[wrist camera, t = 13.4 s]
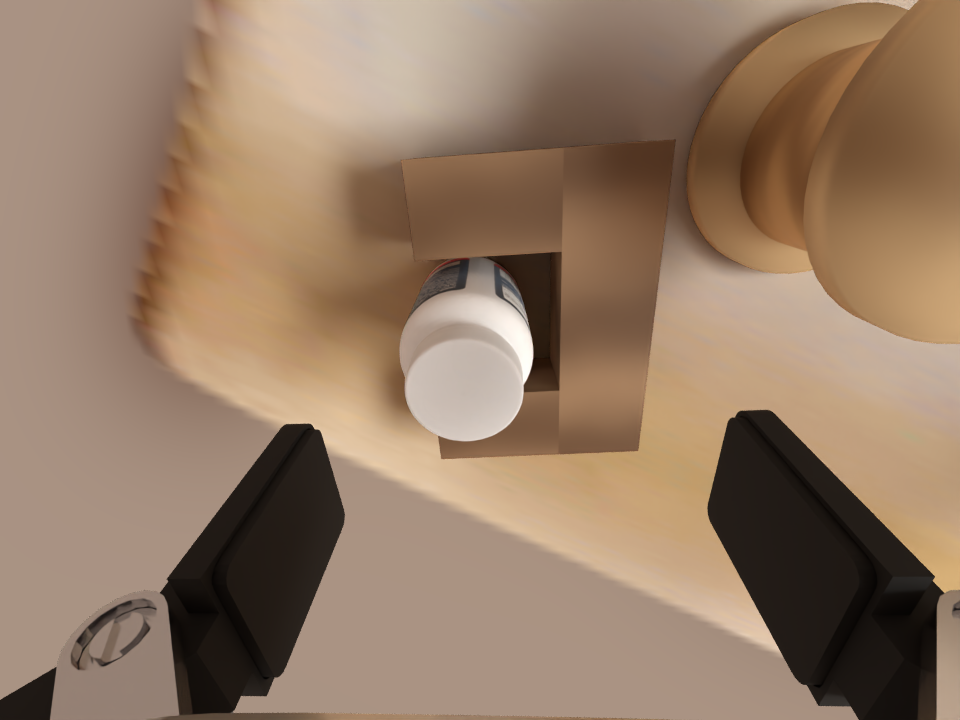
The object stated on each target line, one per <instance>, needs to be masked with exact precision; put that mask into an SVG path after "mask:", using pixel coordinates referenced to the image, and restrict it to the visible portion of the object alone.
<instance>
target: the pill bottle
mask: <svg viewBox="0 0 960 720" xmlns="http://www.w3.org/2000/svg"><path fill="white" fill-rule="evenodd" d="M399 354H400V363H401V368H402V371H403V373H404V376H405V398H406V402H407V405H408V407H409V409H410V411H411V413H412V414H413V416H414V417H415V419H416V420H417V421H418V422H419V423H420V424H421V425H422V426H423V427H425V428H426V429H427V430H429V431H430V432H432V433H434V434H436V435H438V436H440V437H443V438H446V439H450V440H456V441H476V440H481V439H484V438H487V437H490V436H493V435H495V434H497V433H498V432H500V431H502V430H503V429H504V428H506V427H507V426H508V425H509V424H510V423H511V422H512V421H513V419H514V418H515V416H516V415H517V413H518V411H519V409H520V407H521V404H522V400H523V394H524V386H523V385H524V384H525V382H526V380H527V378H528V376H529V373H530V370H531V367H532V361H533V343H532V336H531V332H530V327H529V323H528V319H527V315H526V311H525V307H524V303H523V300H522V296H521V292H520V290H519V287H518V285H517V283H516V281H515V280H514V278H513V277H512V275H511V274H510V273H509V272H508V271H507V270H506V269H505V268H503V267H502V266H501V265H499V264H498V263H496V262H494V261H492V260H489V259H486V258H483V257H469V258H453V259H450V260H447V261H445V262H443V263H442V264H440V265H439V266H437V267H436V268H435V269H434V270H433V271H432V272H431V273H430V274H429V276H428V277H427V278H426V280H425V282H424V283H423V285H422V287H421V290H420V292H419V295H418V297H417V299H416V301H415V304H414V306H413V308H412V311H411V313H410V315H409V317H408V319H407V322H406V324H405V326H404V329H403V332H402V336H401V340H400V348H399Z"/></svg>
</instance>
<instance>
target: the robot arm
mask: <svg viewBox="0 0 960 720" xmlns="http://www.w3.org/2000/svg"><path fill="white" fill-rule="evenodd" d="M708 516H709V520H710V522H711V524H712V526H713V528H714V530H715V531H716V533H717V535H718V537H719V539H720V541H721V542H722V544H723V546H724V548H725V550H726V552H727V554H728V555H729V557H730V559H731V561H732V563H733V565H734V566H735V568H736V570H737V572H738V574H739V576H740V578H741V579H742V581H743V583H744V585H745V587H746V589H747V590H748V592H749V594H750V596H751V598H752V600H753V602H754V603H755V605H756V607H757V609H758V611H759V613H760V614H761V616H762V618H763V620H764V622H765V624H766V626H767V627H768V629H769V631H770V633H771V635H772V637H773V638H774V640H775V642H776V644H777V646H778V648H779V650H780V651H781V653H782V655H783V657H784V659H785V661H786V662H787V664H788V666H789V668H790V670H791V672H792V673H793V675H794V676H795V678H796V679H797V680H798V681H799V682H800V683H801V684H803V685H807V686H808V688H809V690H810V691H811V693H812V695H813V697H814V699H815V700H816V702H817V704H818V705H819V706H851V707H852V709H853V711H854V712H855V714H856V716H857V717H858V719H859V720H960V590H950V591H948V592H946V593H944V592H943V591H942V590H941V589H940V588H939V587H938V586H937V585H936V584H935V583H934V582H933V579H934V578H935V576H934V575H933V574H932V573H931V572H930V571H929V570H928V569H927V568H926V567H925V566H924V565H923V564H922V563H921V562H920V561H919V560H918V559H917V558H916V557H915V556H914V555H913V554H912V553H911V552H910V551H909V550H908V549H907V548H906V547H905V546H904V545H903V544H902V543H901V542H900V541H899V540H898V539H897V537H896V536H895V535H894V534H893V533H892V532H891V531H890V530H889V529H888V528H887V527H886V526H885V525H884V524H883V523H882V522H881V521H880V520H879V519H878V518H877V517H876V516H875V515H874V514H873V513H872V512H871V511H870V510H869V509H868V508H867V507H866V506H865V505H864V504H863V503H862V502H861V501H860V500H859V499H858V498H857V497H856V496H855V495H854V494H853V493H852V492H851V491H850V490H849V489H848V488H847V487H846V486H845V485H844V484H843V483H842V482H841V481H840V480H839V479H838V478H837V477H836V476H835V475H834V474H833V473H832V472H831V471H830V470H829V468H828V467H827V466H826V465H825V464H824V463H823V462H822V461H821V460H820V459H819V458H818V457H817V456H816V455H815V454H814V453H813V452H812V451H811V450H810V449H809V448H808V447H807V446H806V445H805V444H804V443H803V442H802V441H801V440H800V439H799V438H798V437H797V436H796V435H795V434H794V433H793V432H792V431H791V430H790V429H789V428H788V427H787V426H786V425H785V424H784V423H783V422H782V421H781V420H780V419H779V418H778V417H777V416H776V415H775V414H774V413H773V412H772V411H769V410H751V411H740V412H738V413H737V415H736V417H735V418H730V420H729V421H728V424H727V428H726V432H725V436H724V440H723V444H722V449H721V453H720V457H719V461H718V465H717V469H716V473H715V477H714V482H713V486H712V490H711V494H710V498H709V502H708ZM344 517H345V514H344V509H343V505H342V502H341V498H340V495H339V491H338V488H337V485H336V482H335V478H334V475H333V471H332V468H331V465H330V461H329V458H328V454H327V451H326V448H325V444H324V441H323V437H322V434H321V432H320V431H319V430H315V429H314V427H313V426H312V425H311V424H286V425H284V426H283V427H282V428H281V429H280V430H279V432H278V433H277V434H276V436H275V437H274V438H273V440H272V441H271V442H270V443H269V445H268V446H267V448H266V449H265V450H264V452H263V453H262V454H261V455H260V457H259V458H258V459H257V461H256V462H255V464H254V465H253V466H252V467H251V469H250V470H249V471H248V472H247V474H246V475H245V476H244V478H243V479H242V480H241V482H240V483H239V484H238V486H237V487H236V488H235V490H234V491H233V492H232V494H231V495H230V496H229V498H228V499H227V500H226V502H225V503H224V504H223V505H222V507H221V508H220V510H219V511H218V512H217V513H216V515H215V516H214V517H213V519H212V520H211V521H210V523H209V524H208V525H207V527H206V528H205V529H204V531H203V532H202V533H201V535H200V536H199V537H198V538H197V540H196V541H195V542H194V544H193V545H192V546H191V548H190V549H189V550H188V552H187V553H186V554H185V556H184V557H183V558H182V560H181V561H180V562H179V564H178V565H177V566H176V568H175V569H174V570H173V572H172V573H171V574H170V575H169V577H168V578H167V580H168V583H167V584H166V585H165V587H164V588H163V590H162V591H161V592H160V593H158V592H156V591H148V590H144V591H139V592H134V593H130V594H128V595H125V596H123V597H121V598H118V599H115V600H114V601H112V602H110V603H109V604H107V605H105V606H104V607H102V608H100V609H99V610H98V611H96V612H95V613H94V614H93V615H91V616H90V617H89V618H88V619H86V620H85V621H84V622H83V623H82V624H81V625H80V626H79V627H78V628H77V629H76V631H75V632H74V633H73V634H72V635H71V636H70V638H69V639H68V641H67V642H66V644H65V646H64V647H63V648H62V650H61V653H60V656H59V659H58V663H57V667H55V668H54V669H52V670H50V671H49V672H47V673H45V674H43V675H42V676H40V677H39V678H37V679H35V680H33V681H32V682H30V683H28V684H26V685H25V686H23V687H21V688H20V689H18V690H16V691H15V692H13V693H11V694H9V695H8V696H6V697H4V698H3V699H1V700H0V720H665V719H627V718H581V717H579V718H578V717H576V718H575V717H532V716H480V715H421V714H416V715H415V714H352V713H233V711H234V710H235V708H236V706H237V703H238V701H239V699H240V697H241V696H267V694H268V692H269V689H270V687H271V684H272V682H273V679H274V677H279V676H280V675H281V674H282V673H283V672H284V669H285V667H286V665H287V663H288V660H289V658H290V656H291V653H292V651H293V648H294V646H295V643H296V640H297V638H298V636H299V633H300V631H301V628H302V626H303V624H304V621H305V619H306V616H307V614H308V611H309V609H310V606H311V604H312V601H313V599H314V597H315V594H316V591H317V589H318V587H319V584H320V582H321V579H322V577H323V574H324V572H325V570H326V567H327V565H328V562H329V560H330V557H331V555H332V552H333V550H334V547H335V545H336V543H337V540H338V538H339V535H340V533H341V530H342V528H343V525H344ZM666 720H668V719H666Z"/></svg>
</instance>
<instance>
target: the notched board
mask: <svg viewBox="0 0 960 720" xmlns="http://www.w3.org/2000/svg"><path fill="white" fill-rule="evenodd" d="M675 141H676V140H658V141H639V142H626V143H613V144H599V145H586V146H572V147H559V148H546V149H532V150H519V151H505V152H492V153H479V154H465V155H452V156H438V157H425V158H413V159H406V160H401V164H402V172H403V179H404V186H405V194H406V201H407V209H408V216H409V223H410V231H411V238H412V246H413V253H414V260H415V261H422V260H437V259H453V258H469V257H485V256H500V255H516V254H532V253H548V252H551V271H550V358H540V359H533V361H532V367H531V370H530V373H529V376H528V378H527V380H526V382H525V384H524V385H523V386H524V394H523V400H522V404H521V407H520V409H519V411H518V413H517V415H516V416H515V418H514V419H513V421H512V422H511V423H510V424H509V425H508V426H507V427H506V428H504V429H503V430H502V431H500V432H498V433H497V434H495V435H493V436H490V437H487V438H484V439H481V440H476V441H456V440H450V439H446V438H443V437H440V436H438V438H439V445H440V453H441V459H455V458H479V457H503V456H528V455H552V454H576V453H600V452H624V451H638V448H639V439H640V431H641V423H642V415H643V406H644V398H645V390H646V381H647V373H648V365H649V356H650V348H651V340H652V332H653V323H654V315H655V307H656V298H657V290H658V282H659V273H660V265H661V257H662V249H663V240H664V232H665V224H666V215H667V207H668V199H669V190H670V182H671V174H672V165H673V157H674V149H675Z"/></svg>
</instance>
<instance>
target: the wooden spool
mask: <svg viewBox="0 0 960 720" xmlns="http://www.w3.org/2000/svg"><path fill="white" fill-rule="evenodd" d="M687 195H688V200H689V206H690V210H691V213H692V215H693V218H694V221H695V223H696V225H697V227H698V229H699V231H700V232H701V234H702V235H703V236H704V238H705V239H706V240H707V242H708V243H709V244H710V245H711V246H712V247H714V248H715V249H716V250H717V251H718V252H720V253H721V254H723V255H724V256H725V257H727V258H729V259H731V260H733V261H736V262H738V263H740V264H742V265H744V266H746V267H749V268H751V269H755V270H758V271H762V272H769V273H788V274H790V273H798V272H806V271H810V270H814V272H815V275H816V277H817V279H818V281H819V282H820V284H821V285H822V286H823V288H824V289H825V291H826V292H827V294H828V295H829V296H830V297H831V298H832V299H833V300H834V301H835V302H836V303H837V304H838V305H839V306H841V307H842V308H843V309H845V310H846V311H848V312H849V313H851V314H852V315H854V316H856V317H858V318H860V319H862V320H864V321H866V322H869V323H871V324H873V325H875V326H877V327H879V328H882V329H884V330H886V331H888V332H890V333H893V334H895V335H897V336H901V337H904V338H908V339H911V340H915V341H921V342H929V343H936V344H960V0H919V1H918V2H917V3H916V4H914V6H913V7H912V8H911V9H910V10H906V9H904V8H901V7H898V6H895V5H890V4H883V3H855V4H849V5H843V6H839V7H836V8H832V9H829V10H826V11H823V12H820V13H818V14H815V15H813V16H810V17H808V18H805V19H803V20H801V21H799V22H796V23H794V24H792V25H790V26H788V27H786V28H784V29H782V30H781V31H779V32H777V33H776V34H774V35H772V36H771V37H769V38H768V39H766V40H765V41H764V42H762V43H761V44H760V45H759V46H757V47H756V48H755V49H753V50H752V51H751V52H750V53H749V54H748V55H747V56H746V57H745V58H744V59H743V60H742V61H740V62H739V63H738V64H737V65H736V67H735V68H734V69H733V70H732V71H731V72H730V74H729V75H728V76H727V77H726V78H725V79H724V81H723V82H722V84H721V85H720V87H719V88H718V89H717V91H716V92H715V94H714V95H713V97H712V98H711V100H710V102H709V104H708V106H707V107H706V109H705V111H704V113H703V115H702V117H701V120H700V122H699V124H698V127H697V129H696V132H695V135H694V138H693V141H692V145H691V148H690V154H689V159H688V165H687Z"/></svg>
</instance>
